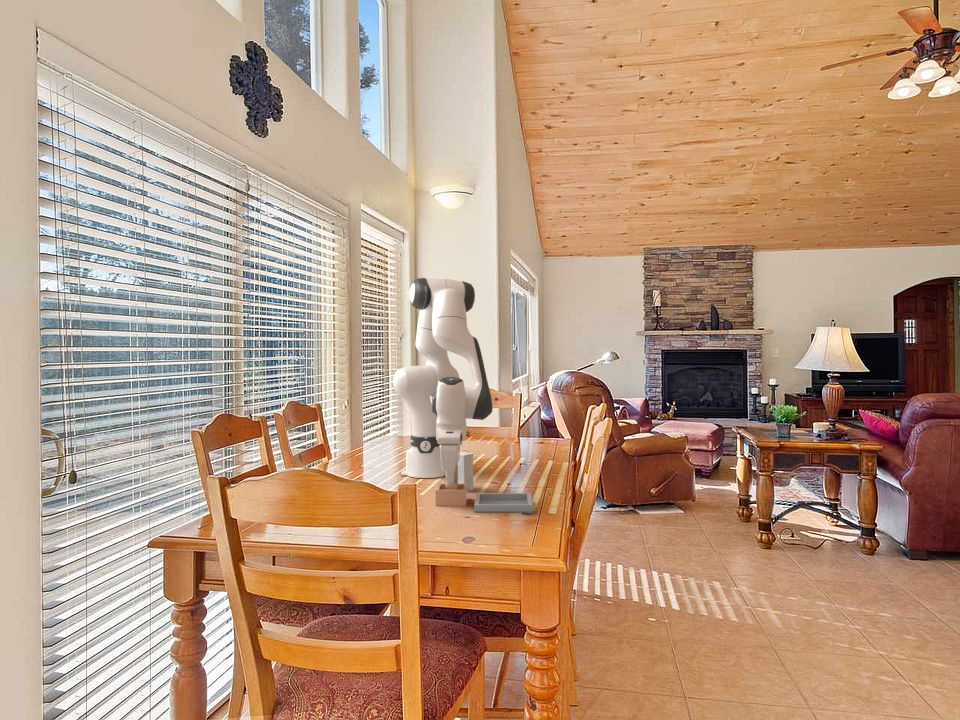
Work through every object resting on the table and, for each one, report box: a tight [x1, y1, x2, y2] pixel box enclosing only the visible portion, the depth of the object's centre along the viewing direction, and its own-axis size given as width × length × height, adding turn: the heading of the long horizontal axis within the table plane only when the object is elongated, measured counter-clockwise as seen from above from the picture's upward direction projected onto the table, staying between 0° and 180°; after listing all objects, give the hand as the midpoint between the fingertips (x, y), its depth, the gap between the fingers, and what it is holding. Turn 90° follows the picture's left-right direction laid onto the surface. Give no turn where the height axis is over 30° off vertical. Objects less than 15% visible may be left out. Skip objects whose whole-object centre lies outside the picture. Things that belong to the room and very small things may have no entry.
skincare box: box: [458, 451, 474, 493], centre depth 199 cm, size 6×4×12 cm
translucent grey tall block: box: [444, 463, 458, 490], centre depth 183 cm, size 4×4×12 cm
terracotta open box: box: [435, 483, 469, 507], centre depth 184 cm, size 9×9×5 cm
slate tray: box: [473, 492, 534, 515], centre depth 179 cm, size 14×16×2 cm
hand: (451, 480), depth 183 cm, fingers closed on translucent grey tall block, 4 cm apart
